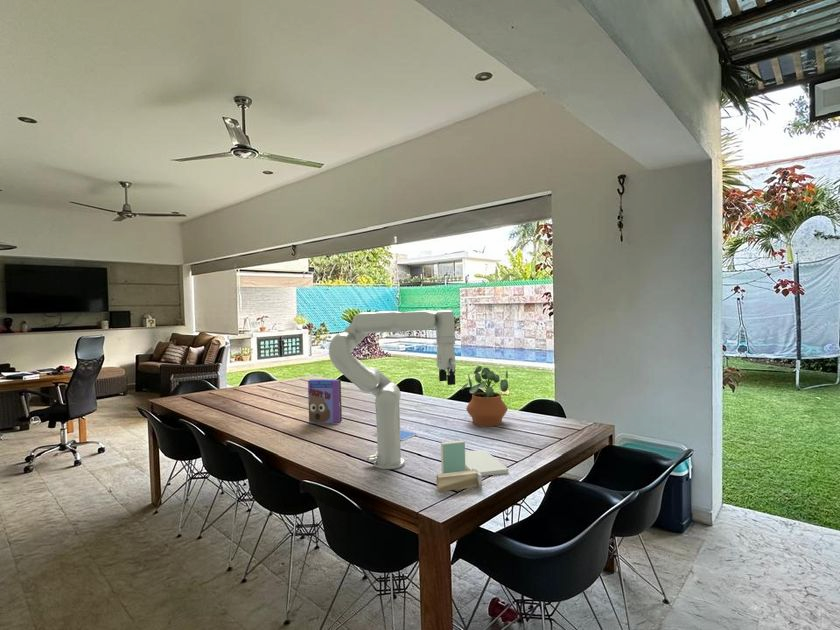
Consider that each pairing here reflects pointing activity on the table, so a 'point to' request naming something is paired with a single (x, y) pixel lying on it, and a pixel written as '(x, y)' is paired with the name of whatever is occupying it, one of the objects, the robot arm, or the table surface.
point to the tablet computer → (404, 435)
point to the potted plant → (486, 399)
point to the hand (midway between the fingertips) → (447, 382)
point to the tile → (453, 456)
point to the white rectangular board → (483, 463)
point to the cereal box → (324, 401)
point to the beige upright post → (459, 480)
